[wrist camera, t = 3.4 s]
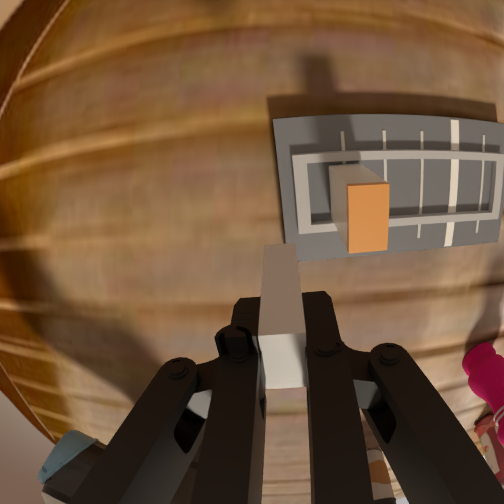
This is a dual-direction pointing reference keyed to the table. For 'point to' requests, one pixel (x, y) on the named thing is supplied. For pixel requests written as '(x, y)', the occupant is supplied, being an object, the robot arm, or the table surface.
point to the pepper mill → (487, 380)
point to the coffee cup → (380, 478)
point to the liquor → (491, 446)
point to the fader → (359, 207)
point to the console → (393, 178)
